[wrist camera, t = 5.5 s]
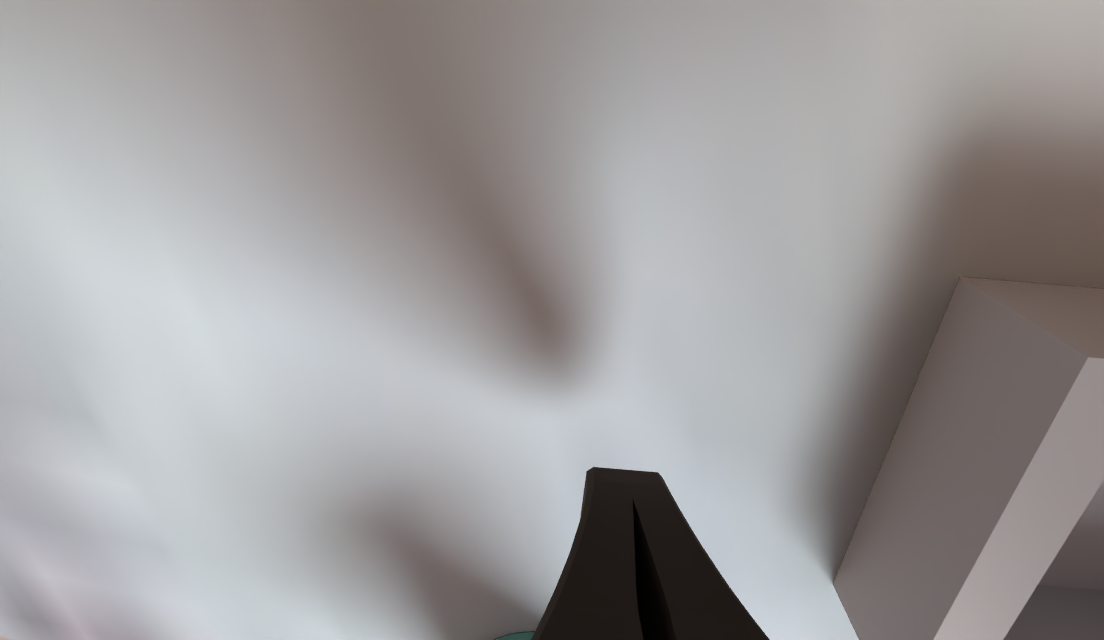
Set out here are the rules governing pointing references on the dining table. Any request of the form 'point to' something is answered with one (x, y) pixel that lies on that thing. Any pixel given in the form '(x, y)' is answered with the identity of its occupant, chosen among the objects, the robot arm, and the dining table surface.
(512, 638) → the dowel
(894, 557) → the socket block
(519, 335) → the dining table surface
